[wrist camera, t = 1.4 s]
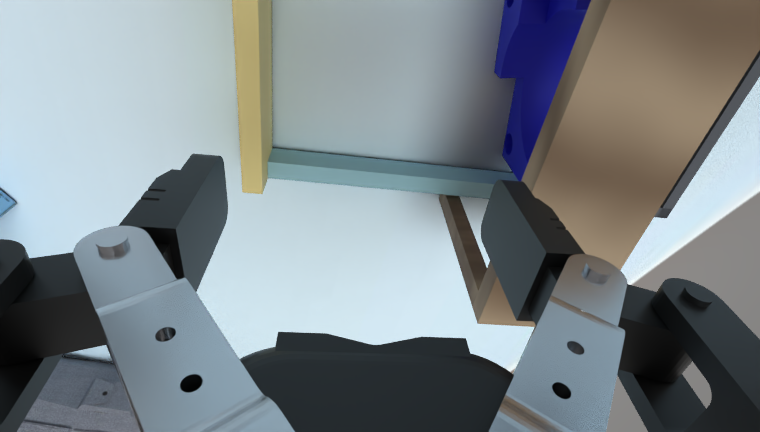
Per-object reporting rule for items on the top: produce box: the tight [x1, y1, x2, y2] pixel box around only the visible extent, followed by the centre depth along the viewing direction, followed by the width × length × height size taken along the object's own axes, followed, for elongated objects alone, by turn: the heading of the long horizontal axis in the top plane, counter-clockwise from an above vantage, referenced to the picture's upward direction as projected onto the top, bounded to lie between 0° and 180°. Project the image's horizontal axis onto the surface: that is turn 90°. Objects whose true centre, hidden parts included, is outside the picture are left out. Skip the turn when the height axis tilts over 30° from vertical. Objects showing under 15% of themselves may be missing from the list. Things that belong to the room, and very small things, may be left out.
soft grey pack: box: [17, 357, 140, 432], centre depth 41 cm, size 15×8×20 cm
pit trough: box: [654, 50, 760, 218], centre depth 27 cm, size 16×4×3 cm, turn 172°
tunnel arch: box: [439, 0, 760, 327], centre depth 22 cm, size 20×6×12 cm, turn 172°
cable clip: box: [494, 0, 591, 181], centre depth 24 cm, size 12×4×6 cm, turn 1°
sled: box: [232, 0, 518, 199], centre depth 24 cm, size 16×25×4 cm, turn 82°
